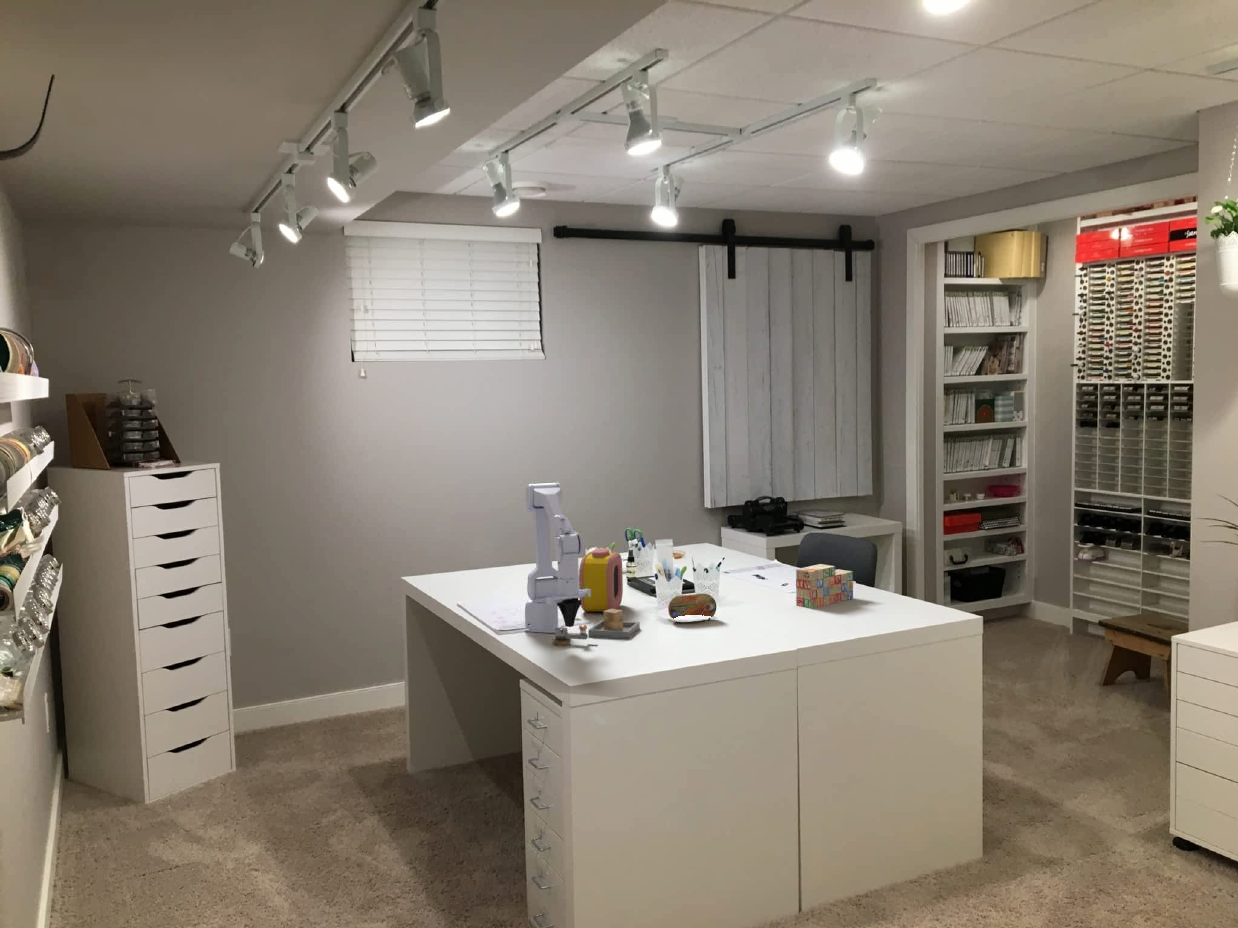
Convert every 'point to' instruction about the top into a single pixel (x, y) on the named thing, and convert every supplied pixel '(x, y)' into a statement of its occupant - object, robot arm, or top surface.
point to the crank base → (563, 642)
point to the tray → (627, 632)
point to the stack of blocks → (822, 585)
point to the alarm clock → (601, 580)
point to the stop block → (613, 620)
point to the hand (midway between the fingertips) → (569, 625)
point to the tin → (692, 605)
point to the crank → (564, 635)
